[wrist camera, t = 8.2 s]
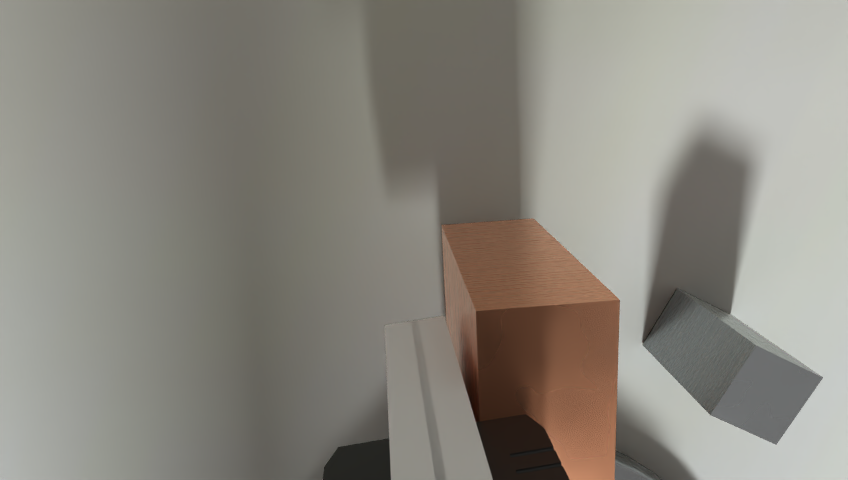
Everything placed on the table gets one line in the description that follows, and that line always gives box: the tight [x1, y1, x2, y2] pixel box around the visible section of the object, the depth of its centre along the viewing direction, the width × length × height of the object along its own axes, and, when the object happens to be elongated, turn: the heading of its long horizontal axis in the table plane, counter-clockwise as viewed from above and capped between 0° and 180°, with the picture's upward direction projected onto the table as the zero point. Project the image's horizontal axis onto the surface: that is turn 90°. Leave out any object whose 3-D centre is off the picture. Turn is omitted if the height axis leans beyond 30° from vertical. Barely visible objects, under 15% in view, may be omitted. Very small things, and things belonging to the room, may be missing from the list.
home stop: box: [643, 289, 823, 444], centre depth 17 cm, size 2×2×4 cm
